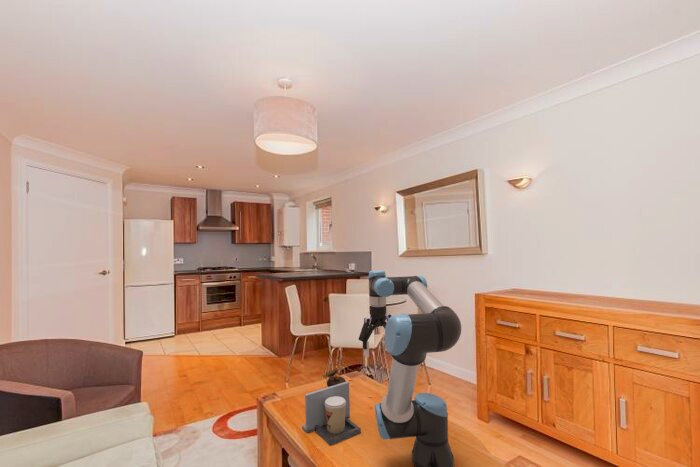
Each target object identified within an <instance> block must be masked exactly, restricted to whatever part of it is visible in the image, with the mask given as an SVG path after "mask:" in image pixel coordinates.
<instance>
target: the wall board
mask: <svg viewBox="0 0 700 467" xmlns="http://www.w3.org/2000/svg"><path fill="white" fill-rule="evenodd" d="M333 396H339V397H343V398H344V399H345V401H346V409H345V417H346V418H348V419H350V417H351V412H350V411H351V410H350V408H351V407H350V382H349V381H346V382H344V383H340V384H337V385H334V386H330V387H328V386H326V387H324V388H320V389H318V390H314V391H312V392H307V393H305V394H304V397H305V398H304V407H305V408H304V409H305V410H304V411H305V414H304V415H305V416H304V417H305V424H304V425H301V428H302V429H303V431H305V433H307V434H309V433H311V432H314V431H315V425H318V426H320V427H323V426H325V425H327V424H326V413H325V400H326V399H327V398H329V397H333ZM315 432H316V431H315Z"/></svg>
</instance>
